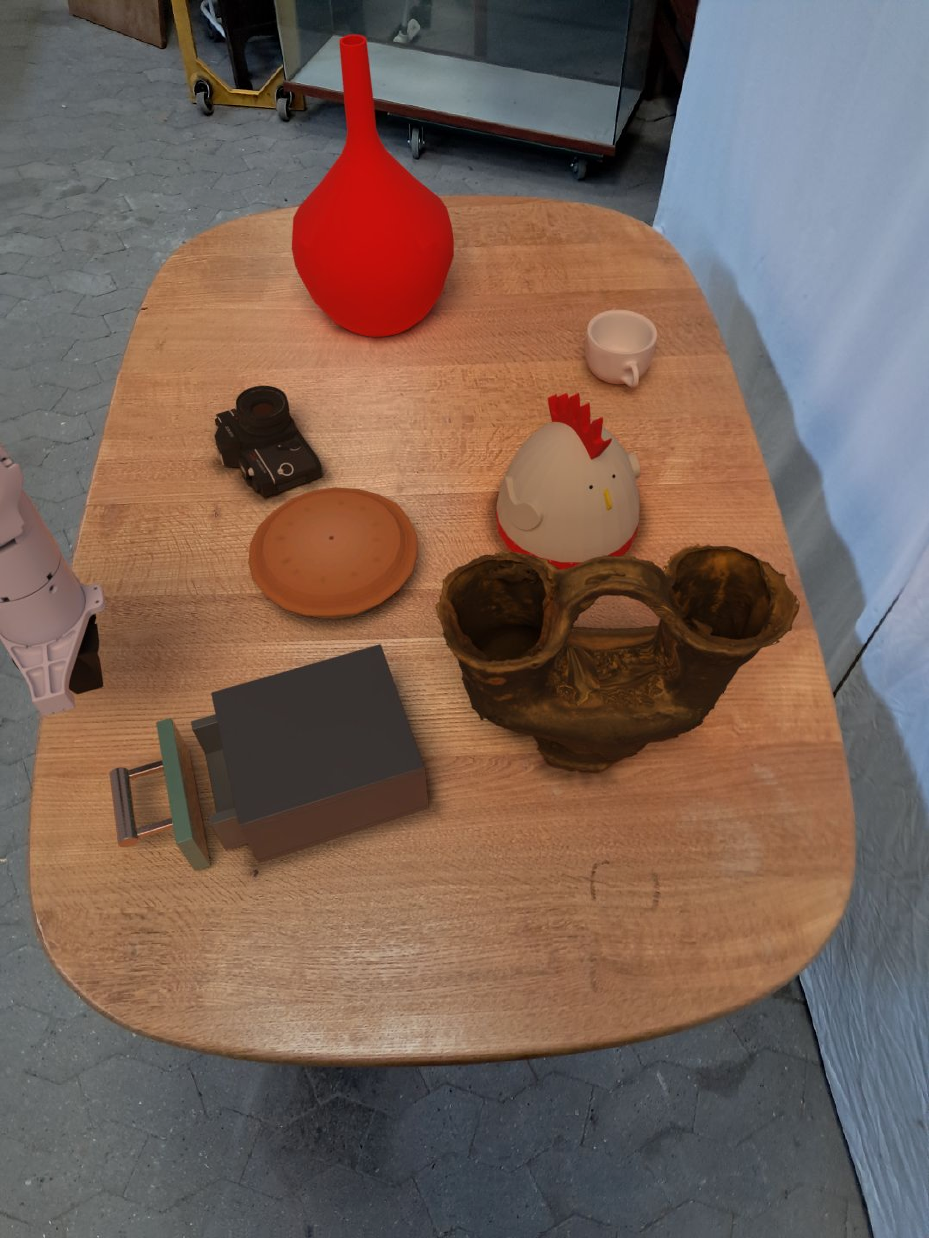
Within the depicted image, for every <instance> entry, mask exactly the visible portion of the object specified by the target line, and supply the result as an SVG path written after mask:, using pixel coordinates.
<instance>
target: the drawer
mask: <svg viewBox="0 0 929 1238" xmlns="http://www.w3.org/2000/svg"><path fill="white" fill-rule="evenodd" d="M190 723H191V724H190V725H191V729H192V732H193V734H194V736H195V737H196V740H197V741H198V743H199V745H200V748H201V749H202V752H203V753H204V757H205V762H206V766H207V772H208V776H209V780H210V787H211V791H212V798H213V802H214V807H215V813H212V814H209V815H208V820H209V825H210V827H211V828H212V830H213V832H214V834H215V835H216V837H217V839H218V841H219V842H220V844H221V846H222V848H223V849H224V851H230V850H233V849H236V848H239V847H241V846H246V845H249V844H248V842H247V840H246V838H245V837H244V835H243V833H242V831H241V829H240V827H239V824H238V819H237V814H236V810H235V805H234V800H233V795H232V791H231V786H230V781H229V776H228V772H227V767H226V762H225V757H224V753H223V748H222V743H221V738H220V734H219V729H218V724H217V719H216V714H215V713H214V714H211V715H208V716H204V717H201V718H197V719H194V720H191V721H190ZM155 725H156V731H157V737H158V743H159V749H160V755H161V759H160V760H157V761H154V762H151V763H147V764H144V765H143V764H142V765H140V766H137V767H134V768H130V769H128V768H127V767H125V766H124V767H123V766H122V767H121V766H119V767H116V768H113V769H111V770H110V771H109V782H110V789H111V798H112V799H111V800H112V806H113V814H114V823H115V830H116V838H117V845H118V847H120V848H131V847H133V846H134V847H135V846H137V844H138V843H139V839H143V838H146V837H148V836H152V835H156V834H158V833H161V832H165V831H168V830H171V829H173V834H174V835H173V836H174V840H175V845H176V846H177V847H178V848H179V850H180V852H181V853H182V854H183V856H184V858H185V859H186V860H187V862H188V863H189V865H190V867H191V868H192V869H193V871H194V872H198V871H200V870H203V869H206V868H210V867H211V861H210V855H209V849H208V845H207V840H206V833H205V829H204V823H203V817H202V813H201V807H200V801H199V797H198V796H199V795H198V792H197V785H196V781H195V774H194V770H193V765H192V758H191V753H190V750H189V748H188V746H187V744H186V742H185V740H184V738H183V737H182V734H181V733H180V731H179V729H178V727H177V725H176V724H175V722H174V720H173V718H172V717H168V718H165V719H162V720H158V721H156V722H155ZM162 771H163V774H164V780H165V785H166V791H167V799H168V803H169V804H168V805H169V809H170V817H169V818H165V819H162V820H159V821H156V822H153V823H150V824H147V825H144V826H140V827H138V826H137V820H136V812H135V805H134V798H133V790H132V782H131V780H135V779H138V778H142V777H145V776H148V775H151V774H155V773H158V772H162Z"/></svg>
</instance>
